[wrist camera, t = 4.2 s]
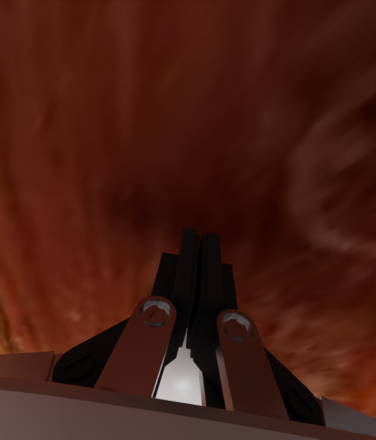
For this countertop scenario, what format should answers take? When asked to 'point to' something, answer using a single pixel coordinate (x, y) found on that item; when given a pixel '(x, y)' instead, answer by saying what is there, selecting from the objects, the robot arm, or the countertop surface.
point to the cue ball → (181, 379)
